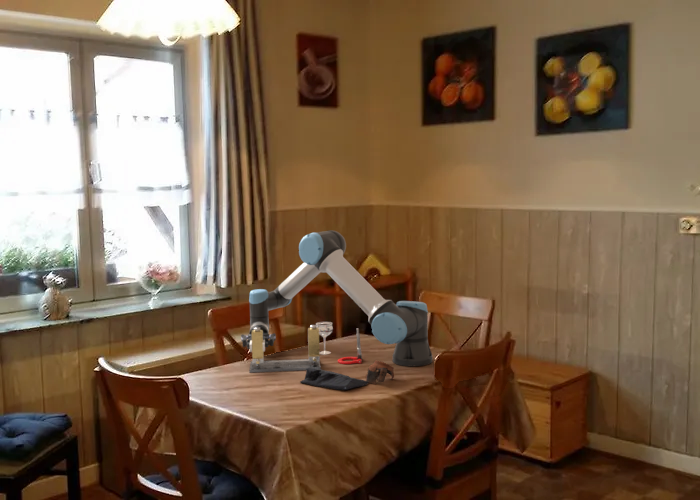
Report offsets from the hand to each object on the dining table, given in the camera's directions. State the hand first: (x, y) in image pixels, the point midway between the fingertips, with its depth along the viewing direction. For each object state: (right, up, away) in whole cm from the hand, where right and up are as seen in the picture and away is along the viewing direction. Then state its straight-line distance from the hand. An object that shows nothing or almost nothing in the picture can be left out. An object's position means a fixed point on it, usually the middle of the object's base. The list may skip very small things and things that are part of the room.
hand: (257, 347), depth 276 cm
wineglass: (+24, -6, +27) cm, 36 cm away
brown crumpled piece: (+45, -10, -14) cm, 48 cm away
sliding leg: (0, -6, +5) cm, 8 cm away
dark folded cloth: (+29, -11, -15) cm, 34 cm away
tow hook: (+34, -7, +13) cm, 37 cm away
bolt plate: (+10, -8, +7) cm, 14 cm away
